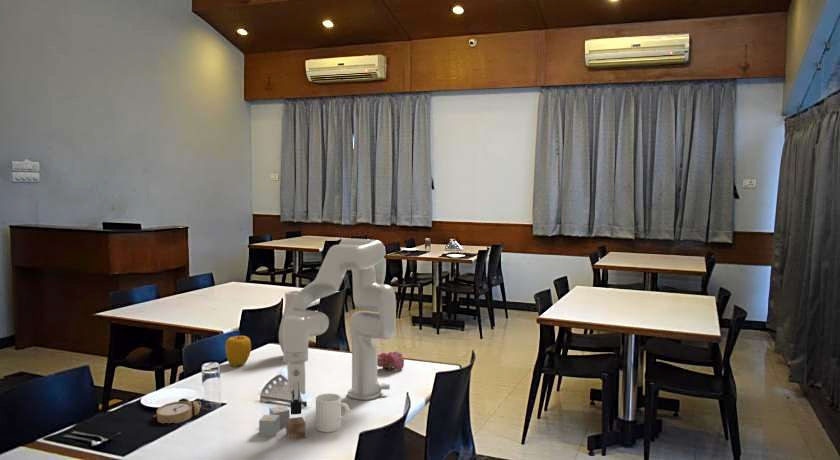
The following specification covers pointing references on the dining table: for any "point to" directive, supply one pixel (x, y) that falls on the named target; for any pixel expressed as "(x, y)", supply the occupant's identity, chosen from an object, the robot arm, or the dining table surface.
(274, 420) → the block one
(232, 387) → the dining table surface
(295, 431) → the plain block
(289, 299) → the vase
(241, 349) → the apple
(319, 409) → the mug
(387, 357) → the flower
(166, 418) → the alarm clock
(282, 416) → the block two
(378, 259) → the robot arm
